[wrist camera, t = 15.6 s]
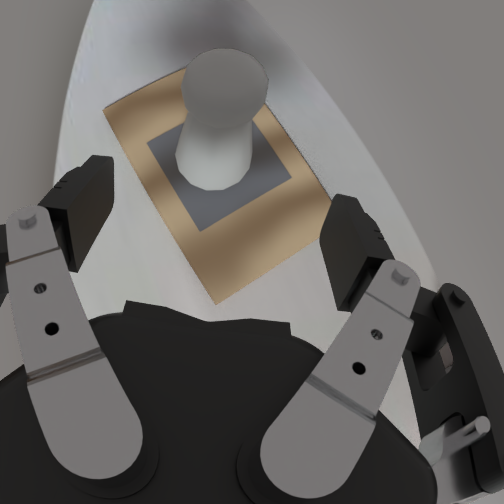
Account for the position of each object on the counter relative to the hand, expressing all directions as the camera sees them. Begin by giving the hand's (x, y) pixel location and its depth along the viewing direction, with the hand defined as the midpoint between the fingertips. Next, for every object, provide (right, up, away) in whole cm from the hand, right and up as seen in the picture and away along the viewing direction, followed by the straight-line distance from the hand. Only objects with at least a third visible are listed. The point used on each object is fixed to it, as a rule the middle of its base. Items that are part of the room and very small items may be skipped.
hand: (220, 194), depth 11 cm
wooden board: (-2, +6, +16) cm, 17 cm away
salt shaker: (-2, +5, +15) cm, 16 cm away
